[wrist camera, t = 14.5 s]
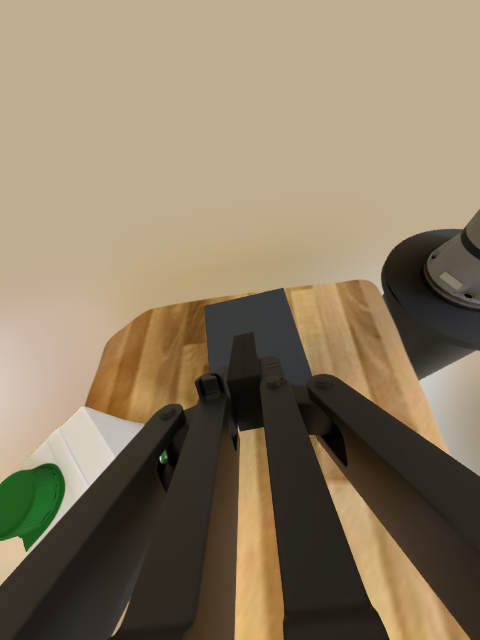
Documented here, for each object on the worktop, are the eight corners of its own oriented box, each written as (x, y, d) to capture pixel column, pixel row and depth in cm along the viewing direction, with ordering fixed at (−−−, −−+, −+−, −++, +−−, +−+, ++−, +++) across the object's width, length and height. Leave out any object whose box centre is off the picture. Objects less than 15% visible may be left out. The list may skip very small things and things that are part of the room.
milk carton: (125, 466, 34) (-34, 482, 17) (169, 417, 37) (67, 389, 20) (158, 517, 30) (-7, 605, 13) (204, 458, 33) (116, 468, 16)
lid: (205, 308, 35) (204, 306, 35) (283, 290, 35) (283, 287, 34) (214, 419, 27) (212, 419, 26) (318, 399, 26) (319, 398, 25)
